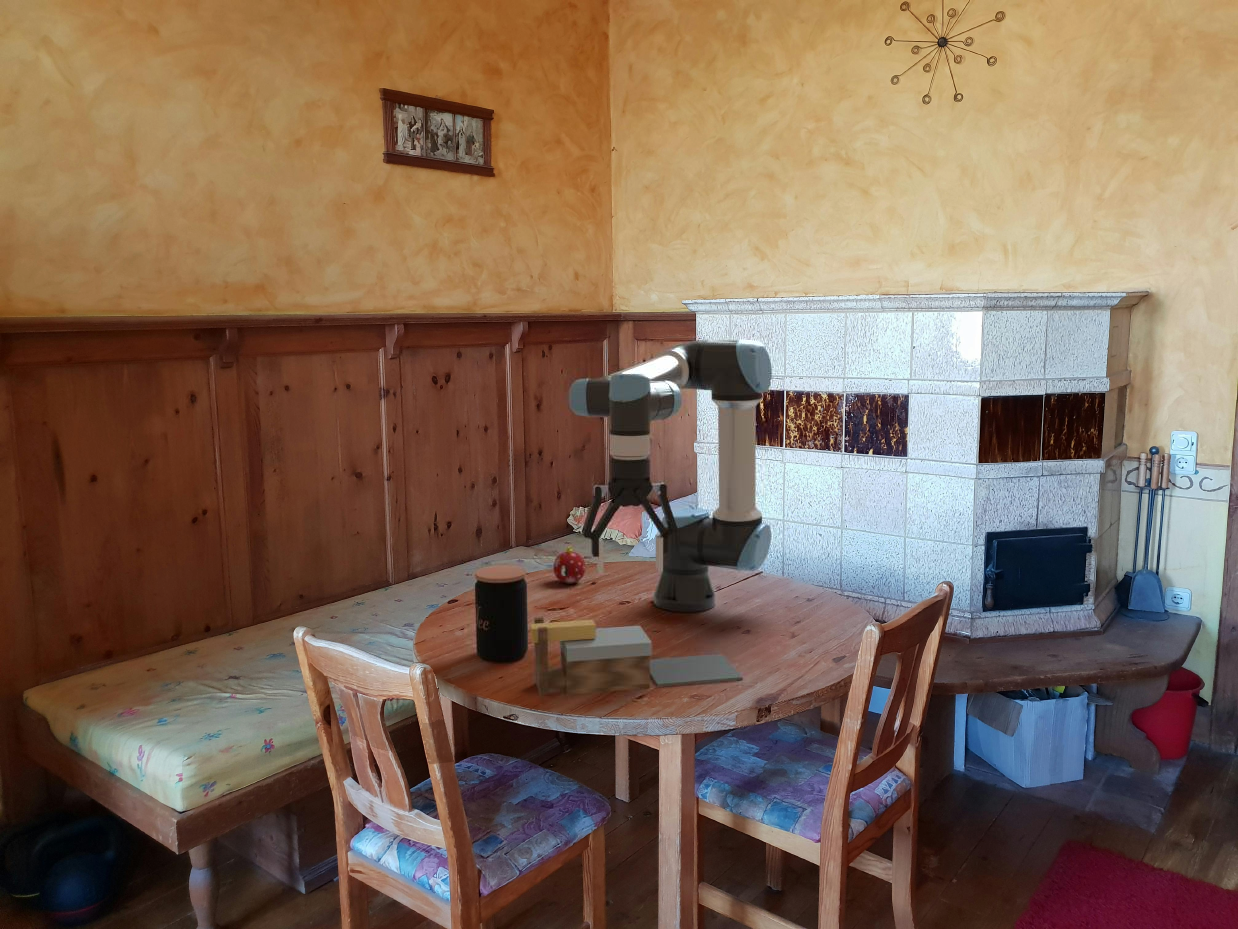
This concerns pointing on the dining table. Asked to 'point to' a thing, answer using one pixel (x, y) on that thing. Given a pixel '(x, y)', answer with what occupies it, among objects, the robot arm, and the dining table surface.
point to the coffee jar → (501, 613)
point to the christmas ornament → (569, 567)
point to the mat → (692, 670)
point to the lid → (609, 644)
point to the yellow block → (565, 630)
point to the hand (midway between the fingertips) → (629, 571)
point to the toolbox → (587, 671)
